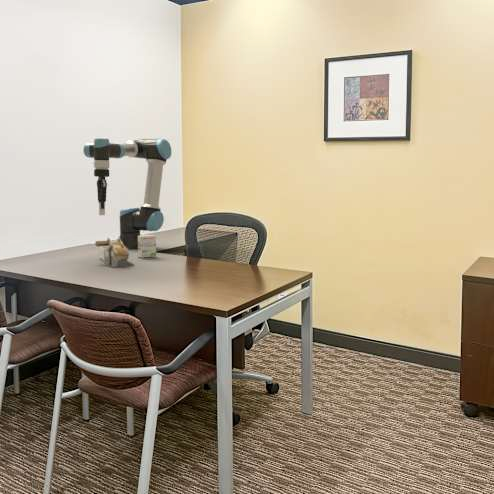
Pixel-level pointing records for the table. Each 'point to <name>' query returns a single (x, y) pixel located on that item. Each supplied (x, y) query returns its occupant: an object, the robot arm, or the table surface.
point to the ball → (121, 250)
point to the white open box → (105, 254)
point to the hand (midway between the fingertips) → (102, 215)
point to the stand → (117, 262)
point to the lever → (114, 248)
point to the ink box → (147, 246)
